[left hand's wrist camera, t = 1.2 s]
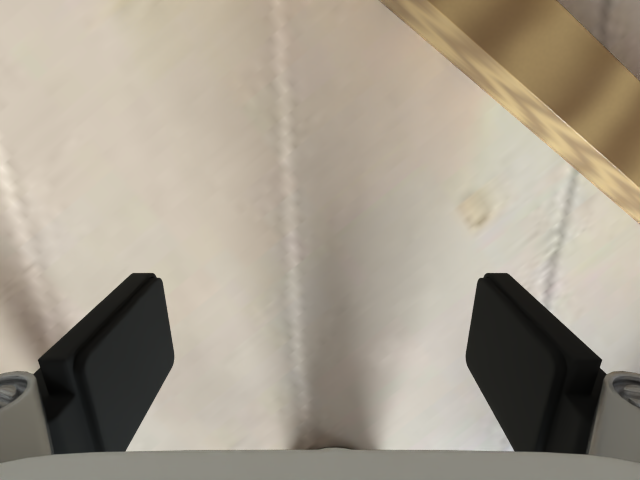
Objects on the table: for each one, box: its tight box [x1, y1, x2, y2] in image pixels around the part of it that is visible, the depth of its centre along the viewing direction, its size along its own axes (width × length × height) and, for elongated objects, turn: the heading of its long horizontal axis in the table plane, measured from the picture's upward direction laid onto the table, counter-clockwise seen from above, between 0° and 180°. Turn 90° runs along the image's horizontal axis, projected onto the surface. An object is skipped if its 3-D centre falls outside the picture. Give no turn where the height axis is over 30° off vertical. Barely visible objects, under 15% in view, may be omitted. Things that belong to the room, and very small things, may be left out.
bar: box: [379, 0, 640, 224], centre depth 29 cm, size 62×5×7 cm, turn 55°
